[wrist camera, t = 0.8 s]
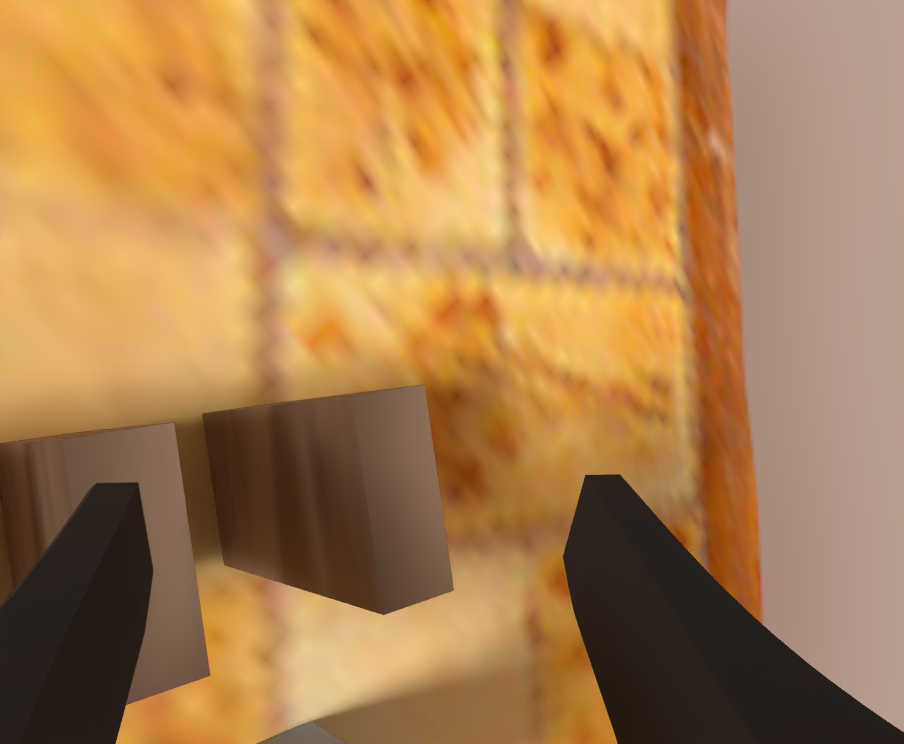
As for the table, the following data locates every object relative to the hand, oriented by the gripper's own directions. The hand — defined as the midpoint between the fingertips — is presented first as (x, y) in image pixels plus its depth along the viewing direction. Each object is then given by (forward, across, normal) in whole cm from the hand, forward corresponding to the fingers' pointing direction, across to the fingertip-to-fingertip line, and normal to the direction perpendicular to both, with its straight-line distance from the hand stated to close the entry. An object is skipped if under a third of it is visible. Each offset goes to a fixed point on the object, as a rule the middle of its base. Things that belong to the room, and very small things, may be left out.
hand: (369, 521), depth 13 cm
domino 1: (+8, +9, +8) cm, 14 cm away
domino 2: (+11, +3, +9) cm, 15 cm away
